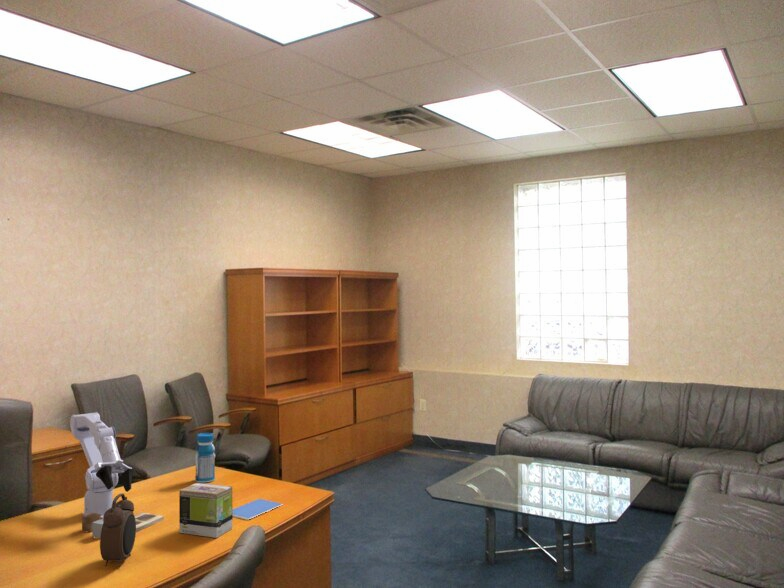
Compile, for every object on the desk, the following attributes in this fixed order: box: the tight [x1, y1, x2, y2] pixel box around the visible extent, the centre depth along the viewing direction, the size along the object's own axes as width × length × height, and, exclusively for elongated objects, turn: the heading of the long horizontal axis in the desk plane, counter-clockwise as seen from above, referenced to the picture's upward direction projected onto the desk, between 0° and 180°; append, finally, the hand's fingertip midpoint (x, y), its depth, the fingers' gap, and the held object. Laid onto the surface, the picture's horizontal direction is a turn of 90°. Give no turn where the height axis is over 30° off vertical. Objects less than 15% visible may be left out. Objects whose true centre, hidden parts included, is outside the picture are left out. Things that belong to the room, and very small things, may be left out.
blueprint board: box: [134, 512, 165, 533], centre depth 218 cm, size 10×14×1 cm
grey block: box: [91, 518, 103, 539], centre depth 208 cm, size 4×4×5 cm
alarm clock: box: [99, 493, 137, 569], centre depth 188 cm, size 15×7×20 cm, turn 4°
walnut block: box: [81, 513, 101, 533], centre depth 213 cm, size 4×4×5 cm
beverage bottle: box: [194, 432, 216, 484], centre depth 270 cm, size 8×8×20 cm
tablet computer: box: [232, 498, 284, 521], centre depth 234 cm, size 19×13×1 cm, turn 150°
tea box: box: [178, 482, 234, 539], centre depth 212 cm, size 15×10×15 cm, turn 71°
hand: (119, 488), depth 214 cm, fingers open, 7 cm apart
